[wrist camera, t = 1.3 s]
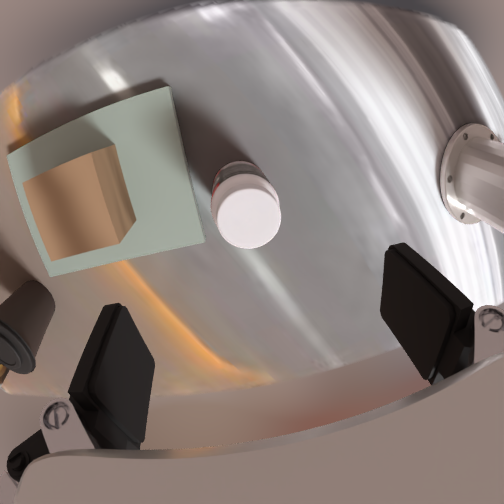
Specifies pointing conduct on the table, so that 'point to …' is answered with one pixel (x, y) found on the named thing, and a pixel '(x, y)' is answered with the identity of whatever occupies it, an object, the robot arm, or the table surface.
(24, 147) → the build board
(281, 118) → the table surface
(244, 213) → the pill bottle
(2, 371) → the coffee box
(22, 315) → the coffee cup
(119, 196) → the walnut brick
